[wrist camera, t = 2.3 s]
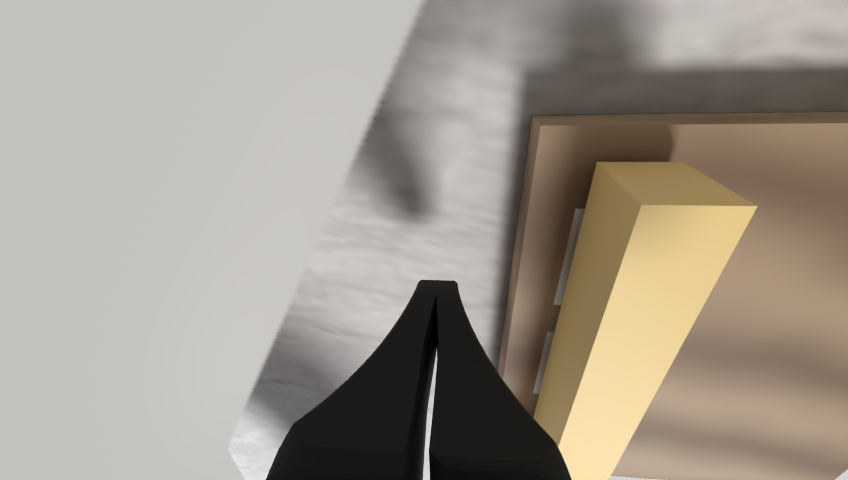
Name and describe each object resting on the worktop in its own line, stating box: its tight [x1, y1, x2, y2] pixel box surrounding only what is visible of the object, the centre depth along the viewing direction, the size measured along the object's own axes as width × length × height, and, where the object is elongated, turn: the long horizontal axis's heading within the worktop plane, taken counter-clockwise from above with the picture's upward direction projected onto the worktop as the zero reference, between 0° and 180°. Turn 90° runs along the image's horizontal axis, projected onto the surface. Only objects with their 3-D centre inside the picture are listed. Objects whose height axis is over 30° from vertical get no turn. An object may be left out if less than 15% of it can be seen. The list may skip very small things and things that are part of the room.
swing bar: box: [533, 162, 758, 480], centre depth 14 cm, size 18×3×3 cm, turn 2°
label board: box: [497, 112, 848, 480], centre depth 16 cm, size 21×19×2 cm
